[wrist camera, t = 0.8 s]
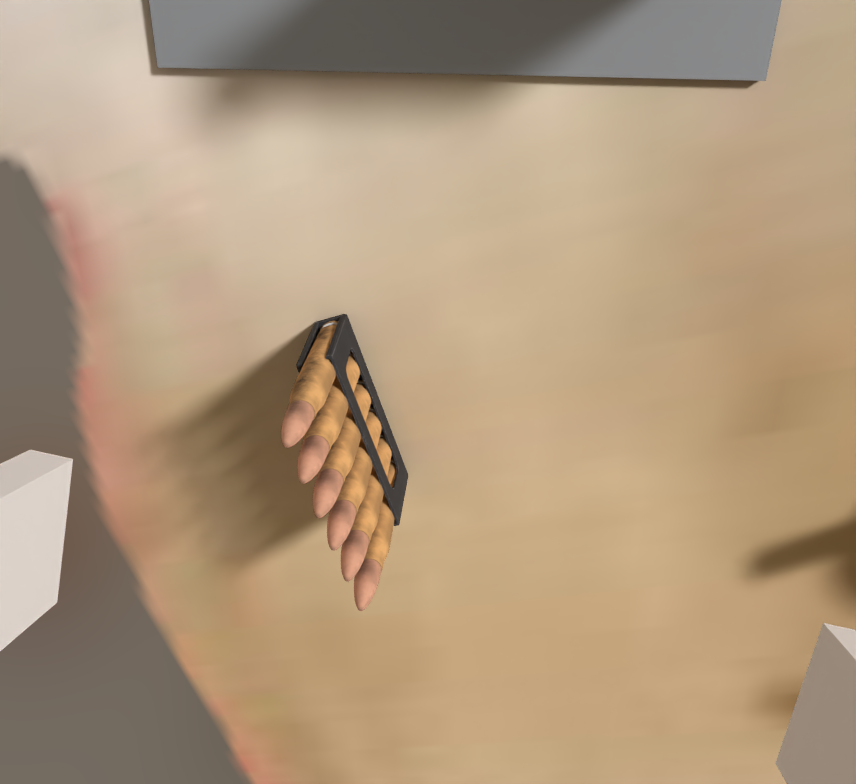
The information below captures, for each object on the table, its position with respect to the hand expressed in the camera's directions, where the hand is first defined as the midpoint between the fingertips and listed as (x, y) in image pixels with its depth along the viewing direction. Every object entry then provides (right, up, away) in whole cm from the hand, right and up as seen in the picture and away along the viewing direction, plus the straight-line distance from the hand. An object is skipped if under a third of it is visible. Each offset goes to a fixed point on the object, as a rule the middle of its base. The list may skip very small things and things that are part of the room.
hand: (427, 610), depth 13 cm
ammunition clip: (-4, +3, +30) cm, 31 cm away
